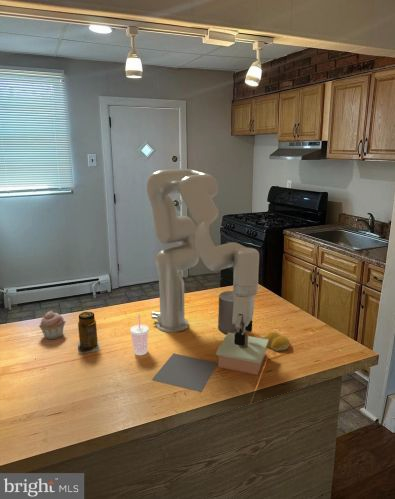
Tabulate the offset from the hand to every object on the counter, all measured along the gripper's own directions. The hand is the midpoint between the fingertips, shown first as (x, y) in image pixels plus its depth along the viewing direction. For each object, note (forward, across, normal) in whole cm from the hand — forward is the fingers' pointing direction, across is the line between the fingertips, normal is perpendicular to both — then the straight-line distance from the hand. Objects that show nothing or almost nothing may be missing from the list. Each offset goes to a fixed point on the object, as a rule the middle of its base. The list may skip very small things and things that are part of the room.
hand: (243, 337), depth 120 cm
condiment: (+9, +10, -53) cm, 55 cm away
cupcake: (+9, +8, -70) cm, 71 cm away
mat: (+9, +12, -15) cm, 21 cm away
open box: (+9, 0, 0) cm, 9 cm away
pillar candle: (+9, -21, -10) cm, 25 cm away
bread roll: (+9, -15, +8) cm, 20 cm away
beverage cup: (+9, +7, -34) cm, 36 cm away
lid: (+4, 0, 0) cm, 4 cm away
